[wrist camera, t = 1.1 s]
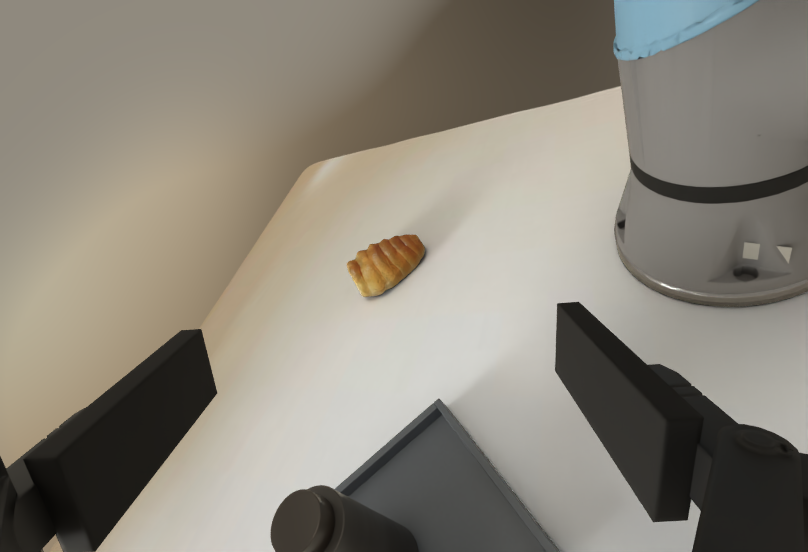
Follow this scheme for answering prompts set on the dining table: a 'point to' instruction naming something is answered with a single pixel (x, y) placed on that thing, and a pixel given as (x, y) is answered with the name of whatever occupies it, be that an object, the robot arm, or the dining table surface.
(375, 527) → the pepper mill
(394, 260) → the pastry
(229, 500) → the dining table surface
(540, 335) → the dining table surface
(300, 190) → the dining table surface
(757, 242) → the robot arm
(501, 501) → the tray
